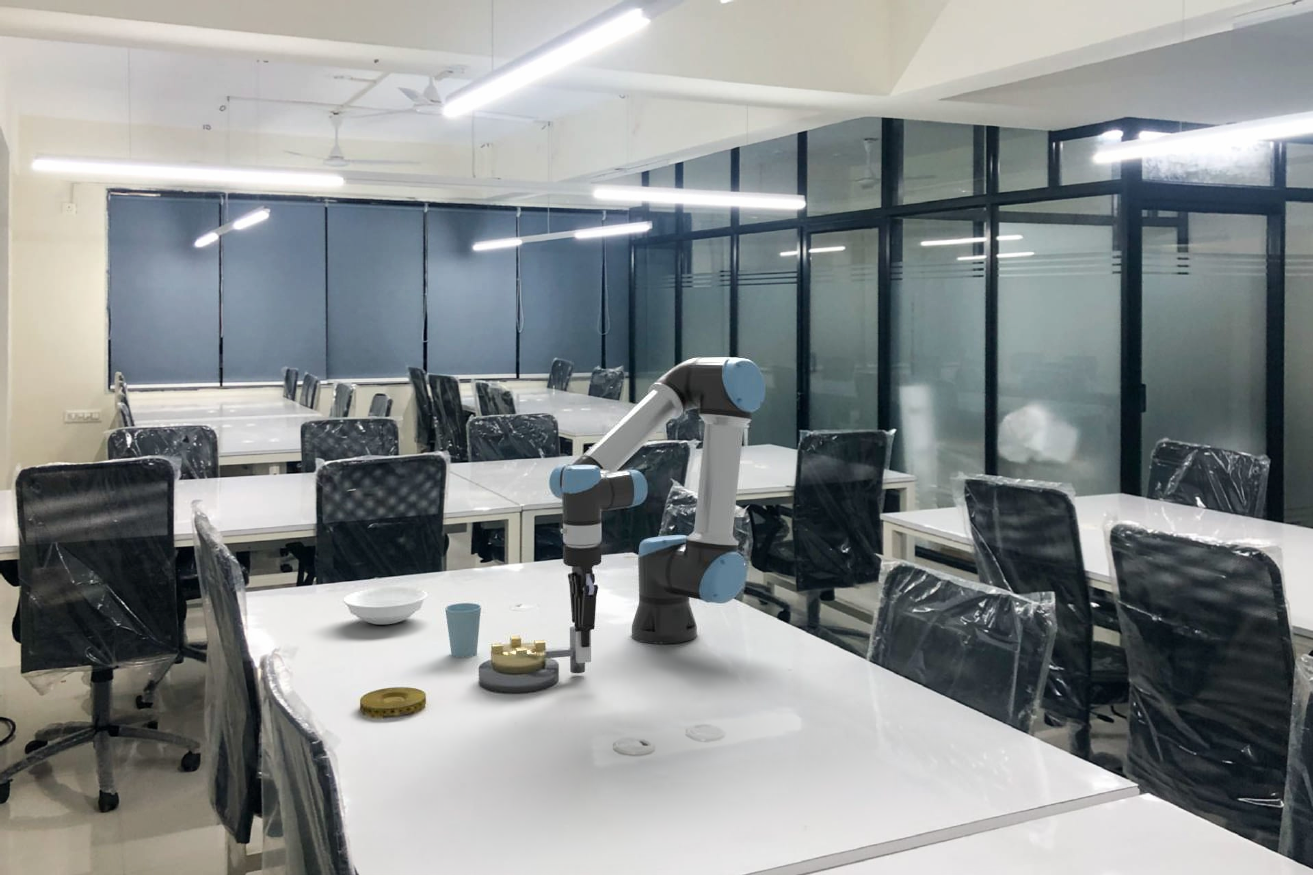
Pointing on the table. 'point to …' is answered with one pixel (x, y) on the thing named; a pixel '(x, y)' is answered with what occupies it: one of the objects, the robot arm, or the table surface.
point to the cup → (463, 628)
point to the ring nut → (531, 655)
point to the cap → (518, 679)
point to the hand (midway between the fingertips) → (583, 661)
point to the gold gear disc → (392, 702)
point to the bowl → (385, 604)
